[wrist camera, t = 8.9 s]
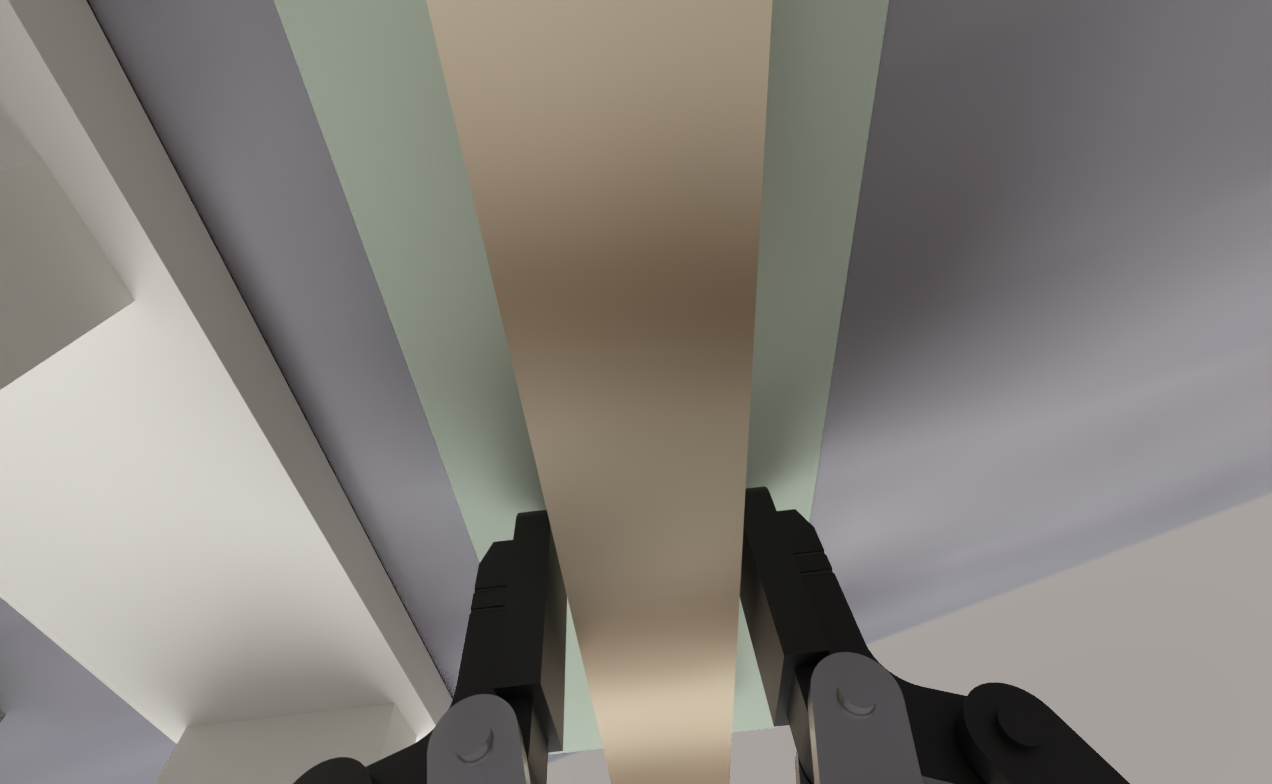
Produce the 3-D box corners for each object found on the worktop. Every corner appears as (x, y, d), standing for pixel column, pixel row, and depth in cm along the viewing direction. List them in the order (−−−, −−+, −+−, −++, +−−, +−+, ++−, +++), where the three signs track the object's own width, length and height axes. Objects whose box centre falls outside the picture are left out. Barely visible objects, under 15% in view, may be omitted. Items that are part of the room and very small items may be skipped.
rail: (465, -77, 7) (396, -123, 4) (709, -97, 7) (781, -155, 4) (617, 718, 18) (622, 829, 16) (708, 707, 18) (727, 816, 16)
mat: (181, -295, 6) (159, -314, 6) (926, -353, 6) (946, -374, 6) (550, 741, 20) (549, 754, 19) (774, 715, 20) (778, 727, 19)
